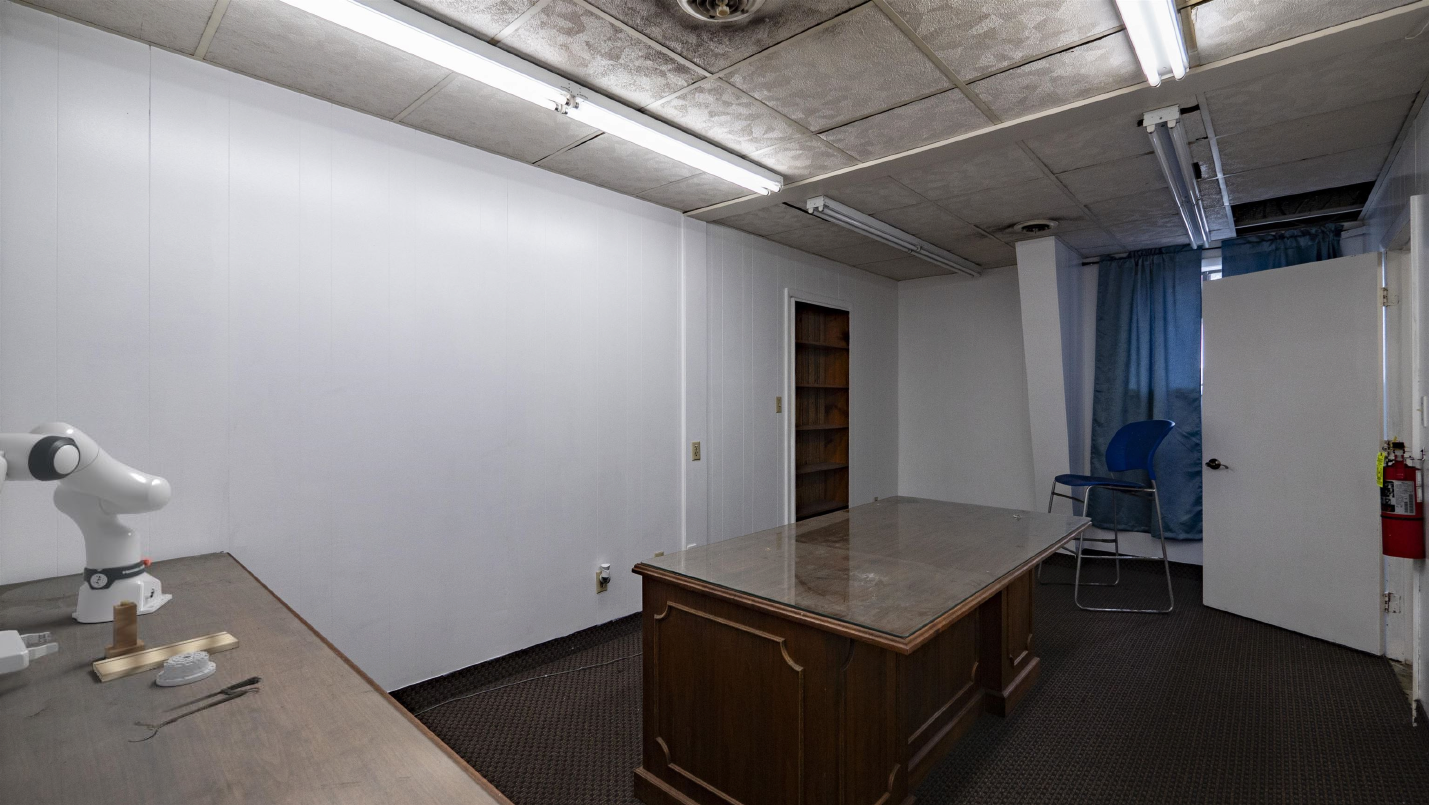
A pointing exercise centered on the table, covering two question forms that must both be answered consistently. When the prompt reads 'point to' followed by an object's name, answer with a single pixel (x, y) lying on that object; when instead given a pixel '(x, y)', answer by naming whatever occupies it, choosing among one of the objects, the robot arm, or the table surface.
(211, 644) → the plank
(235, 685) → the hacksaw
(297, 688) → the table surface
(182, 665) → the mechanical component
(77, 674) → the table surface
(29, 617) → the table surface
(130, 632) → the wooden peg post
